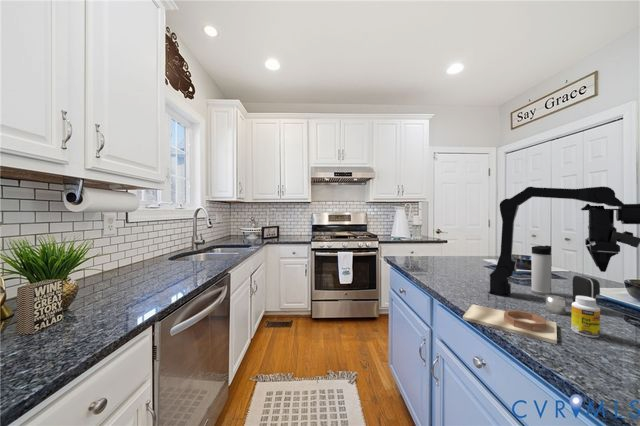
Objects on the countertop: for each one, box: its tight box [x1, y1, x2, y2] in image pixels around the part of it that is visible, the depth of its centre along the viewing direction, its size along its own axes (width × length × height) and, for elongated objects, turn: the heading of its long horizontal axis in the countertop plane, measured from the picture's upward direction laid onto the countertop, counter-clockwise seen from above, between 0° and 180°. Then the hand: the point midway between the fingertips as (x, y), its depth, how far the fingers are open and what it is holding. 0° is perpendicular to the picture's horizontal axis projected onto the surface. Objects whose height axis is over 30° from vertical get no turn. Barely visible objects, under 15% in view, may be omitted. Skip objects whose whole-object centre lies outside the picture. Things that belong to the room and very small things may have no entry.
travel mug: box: [531, 245, 552, 297], centre depth 104 cm, size 6×7×20 cm
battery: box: [572, 275, 601, 303], centre depth 87 cm, size 7×4×11 cm, turn 172°
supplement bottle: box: [570, 296, 601, 339], centre depth 70 cm, size 6×6×10 cm
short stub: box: [545, 294, 567, 316], centre depth 85 cm, size 5×5×5 cm
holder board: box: [462, 303, 558, 345], centre depth 78 cm, size 22×14×3 cm, turn 47°
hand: (600, 269), depth 85 cm, fingers open, 9 cm apart
